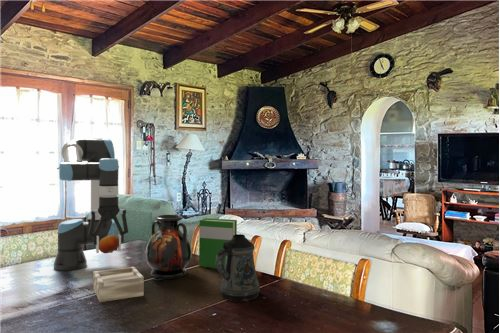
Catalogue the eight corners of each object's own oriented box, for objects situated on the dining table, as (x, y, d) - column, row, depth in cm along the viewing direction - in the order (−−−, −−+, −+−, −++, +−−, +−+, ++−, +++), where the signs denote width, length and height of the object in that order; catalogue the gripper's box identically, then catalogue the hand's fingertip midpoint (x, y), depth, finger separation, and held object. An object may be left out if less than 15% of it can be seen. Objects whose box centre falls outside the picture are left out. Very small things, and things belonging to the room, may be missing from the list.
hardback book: (236, 265, 211) (236, 219, 210) (231, 269, 204) (232, 222, 203) (204, 263, 216) (204, 217, 215) (198, 266, 208) (199, 220, 207)
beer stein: (264, 291, 174) (265, 233, 173) (249, 307, 155) (250, 242, 154) (228, 286, 179) (229, 229, 178) (210, 301, 161) (211, 238, 160)
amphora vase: (135, 278, 188) (136, 218, 187) (162, 266, 208) (162, 211, 207) (175, 284, 180) (176, 221, 179) (199, 271, 200) (200, 215, 199)
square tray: (93, 288, 173) (93, 271, 172) (134, 283, 181) (134, 266, 181) (99, 302, 158) (99, 283, 158) (143, 295, 166) (143, 277, 166)
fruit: (116, 251, 162) (107, 234, 163) (101, 260, 164) (91, 243, 164) (126, 247, 170) (117, 230, 171) (112, 255, 172) (103, 239, 172)
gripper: (82, 198, 158) (82, 256, 159) (136, 196, 168) (136, 250, 169) (80, 196, 165) (80, 251, 166) (132, 194, 175) (132, 247, 175)
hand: (108, 251), depth 167 cm, fingers closed on fruit, 8 cm apart
